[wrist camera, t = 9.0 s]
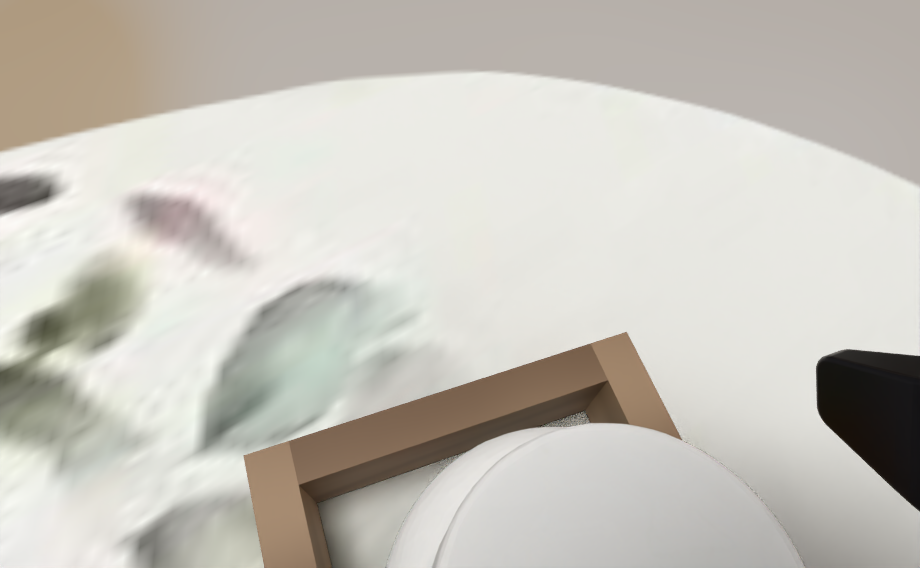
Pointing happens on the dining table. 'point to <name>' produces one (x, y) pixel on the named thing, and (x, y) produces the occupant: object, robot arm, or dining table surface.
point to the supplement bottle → (590, 506)
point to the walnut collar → (438, 437)
